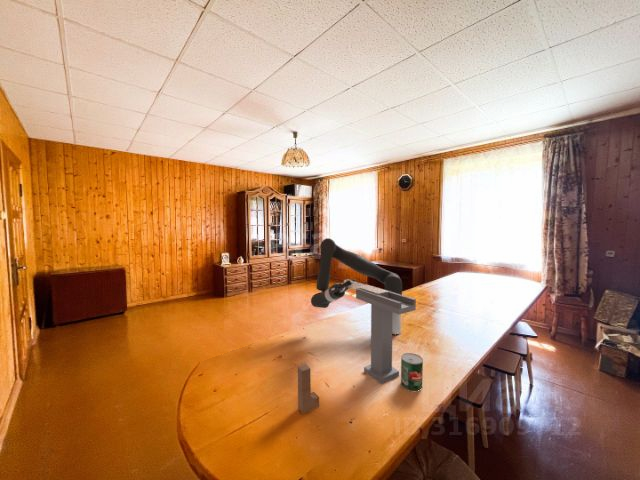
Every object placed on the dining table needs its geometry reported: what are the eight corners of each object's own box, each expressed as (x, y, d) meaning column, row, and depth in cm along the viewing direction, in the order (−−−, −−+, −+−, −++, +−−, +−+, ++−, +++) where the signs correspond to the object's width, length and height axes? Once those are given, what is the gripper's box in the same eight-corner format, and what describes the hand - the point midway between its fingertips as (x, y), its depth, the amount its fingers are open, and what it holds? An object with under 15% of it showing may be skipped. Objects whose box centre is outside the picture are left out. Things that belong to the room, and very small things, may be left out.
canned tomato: (405, 376, 107) (405, 350, 106) (425, 384, 102) (425, 357, 101) (397, 386, 100) (397, 358, 100) (418, 395, 95) (418, 365, 95)
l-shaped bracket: (302, 414, 86) (302, 370, 85) (297, 408, 89) (297, 366, 88) (319, 406, 90) (318, 364, 89) (314, 401, 93) (313, 360, 91)
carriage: (341, 286, 126) (341, 280, 125) (351, 284, 129) (351, 278, 128) (378, 299, 104) (378, 292, 104) (389, 297, 107) (389, 290, 107)
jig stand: (355, 365, 116) (355, 288, 113) (372, 358, 121) (372, 285, 119) (396, 395, 95) (398, 303, 93) (415, 386, 100) (416, 298, 98)
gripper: (321, 287, 134) (338, 275, 120) (343, 283, 141) (361, 272, 128) (325, 301, 131) (343, 291, 118) (347, 297, 138) (366, 287, 125)
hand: (352, 281), depth 123 cm, fingers closed on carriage, 2 cm apart
